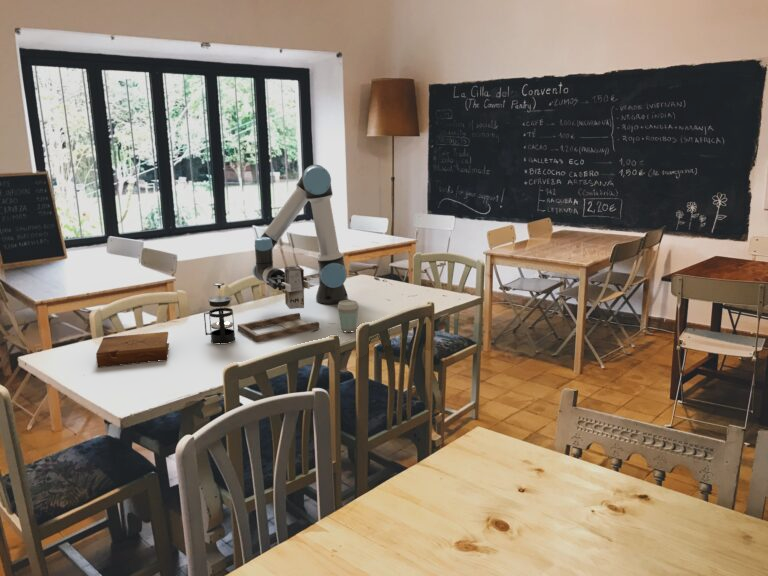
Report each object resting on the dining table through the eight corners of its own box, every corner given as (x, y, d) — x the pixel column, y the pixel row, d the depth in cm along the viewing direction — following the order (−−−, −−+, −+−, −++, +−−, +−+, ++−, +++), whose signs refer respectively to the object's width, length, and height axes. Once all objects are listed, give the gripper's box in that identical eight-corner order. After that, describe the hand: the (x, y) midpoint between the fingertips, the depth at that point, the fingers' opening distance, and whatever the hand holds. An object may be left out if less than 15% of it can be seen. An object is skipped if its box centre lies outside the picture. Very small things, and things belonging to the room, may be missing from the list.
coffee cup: (360, 327, 262) (359, 299, 259) (357, 334, 254) (356, 305, 251) (339, 327, 263) (339, 299, 260) (336, 334, 255) (335, 305, 252)
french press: (236, 335, 254) (232, 279, 249) (237, 342, 246) (233, 285, 240) (206, 338, 252) (201, 281, 246) (206, 345, 243) (201, 287, 237)
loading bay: (298, 318, 276) (298, 312, 276) (319, 328, 262) (319, 322, 261) (237, 330, 261) (237, 324, 260) (256, 341, 246) (255, 335, 246)
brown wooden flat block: (98, 369, 222) (95, 354, 220) (105, 352, 239) (103, 337, 238) (167, 361, 228) (165, 346, 226) (169, 345, 245) (167, 331, 244)
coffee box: (304, 308, 260) (304, 269, 257) (289, 309, 258) (288, 270, 255) (300, 302, 269) (299, 265, 265) (284, 303, 267) (284, 266, 263)
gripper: (296, 281, 282) (322, 292, 264) (252, 288, 271) (276, 300, 253) (295, 265, 280) (321, 274, 262) (251, 271, 269) (275, 281, 251)
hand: (299, 287), depth 258 cm, fingers closed on coffee box, 8 cm apart
